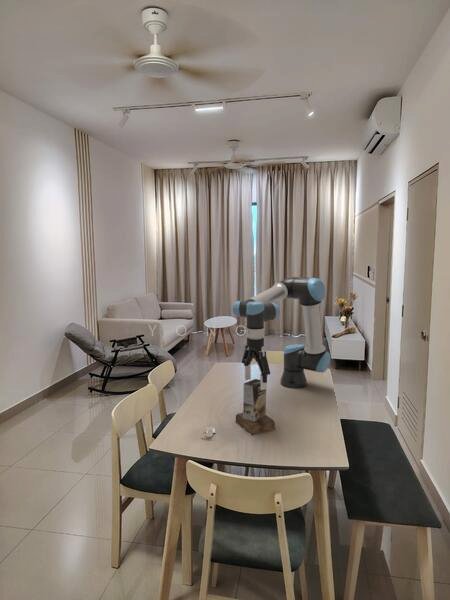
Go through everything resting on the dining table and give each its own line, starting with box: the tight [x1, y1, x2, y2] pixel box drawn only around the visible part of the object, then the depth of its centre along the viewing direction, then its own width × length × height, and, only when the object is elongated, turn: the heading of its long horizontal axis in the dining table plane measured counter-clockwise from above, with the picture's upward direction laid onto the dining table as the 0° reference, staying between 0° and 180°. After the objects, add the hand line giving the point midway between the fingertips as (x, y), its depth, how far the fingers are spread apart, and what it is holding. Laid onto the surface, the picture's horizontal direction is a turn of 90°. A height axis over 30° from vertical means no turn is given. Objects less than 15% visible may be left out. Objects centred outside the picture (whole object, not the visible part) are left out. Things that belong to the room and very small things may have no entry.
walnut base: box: [235, 412, 276, 436], centre depth 171 cm, size 12×14×4 cm
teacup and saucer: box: [205, 426, 216, 438], centre depth 162 cm, size 9×8×4 cm
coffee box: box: [242, 378, 267, 422], centre depth 170 cm, size 9×6×16 cm
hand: (255, 384), depth 169 cm, fingers open, 13 cm apart
